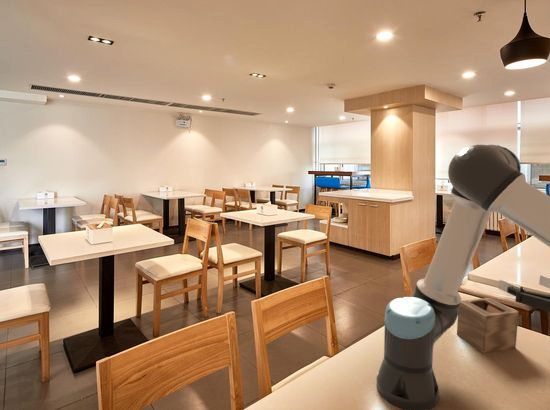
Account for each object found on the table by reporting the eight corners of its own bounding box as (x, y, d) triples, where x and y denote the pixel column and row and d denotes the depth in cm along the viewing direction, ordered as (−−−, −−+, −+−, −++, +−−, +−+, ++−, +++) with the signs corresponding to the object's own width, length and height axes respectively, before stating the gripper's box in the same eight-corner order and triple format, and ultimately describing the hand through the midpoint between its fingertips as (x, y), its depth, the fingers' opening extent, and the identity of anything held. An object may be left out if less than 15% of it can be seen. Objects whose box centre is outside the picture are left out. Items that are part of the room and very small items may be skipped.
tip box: (482, 352, 102) (485, 316, 100) (456, 334, 112) (458, 301, 111) (515, 347, 104) (518, 311, 102) (487, 330, 115) (489, 297, 113)
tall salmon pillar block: (488, 340, 105) (500, 311, 104) (476, 332, 110) (488, 304, 109) (495, 342, 106) (508, 314, 105) (484, 334, 111) (495, 307, 110)
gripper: (565, 342, 68) (481, 298, 89) (653, 328, 73) (555, 290, 94) (570, 308, 67) (483, 272, 87) (659, 296, 72) (558, 265, 93)
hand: (520, 281), depth 91 cm, fingers open, 13 cm apart
